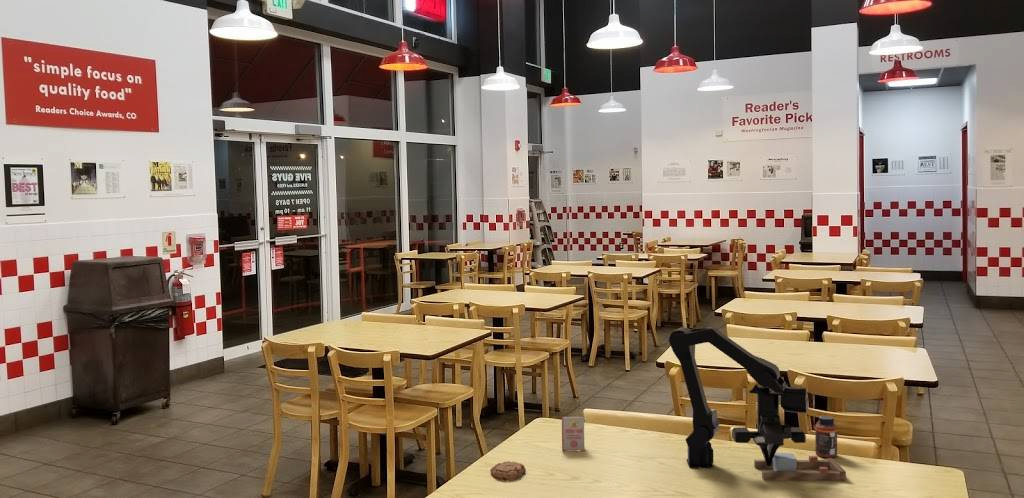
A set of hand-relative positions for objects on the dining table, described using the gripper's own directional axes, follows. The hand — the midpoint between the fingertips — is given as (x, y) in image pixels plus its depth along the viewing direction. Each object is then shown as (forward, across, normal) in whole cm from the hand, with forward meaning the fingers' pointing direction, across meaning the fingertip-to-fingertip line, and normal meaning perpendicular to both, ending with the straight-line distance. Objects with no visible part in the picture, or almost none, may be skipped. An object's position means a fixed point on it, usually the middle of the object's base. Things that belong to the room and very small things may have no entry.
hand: (768, 465), depth 219 cm
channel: (+2, +7, 0) cm, 8 cm away
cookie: (+2, -72, -2) cm, 72 cm away
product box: (+2, -54, +21) cm, 58 cm away
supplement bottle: (+2, +20, +16) cm, 26 cm away
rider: (+2, +4, 0) cm, 5 cm away
